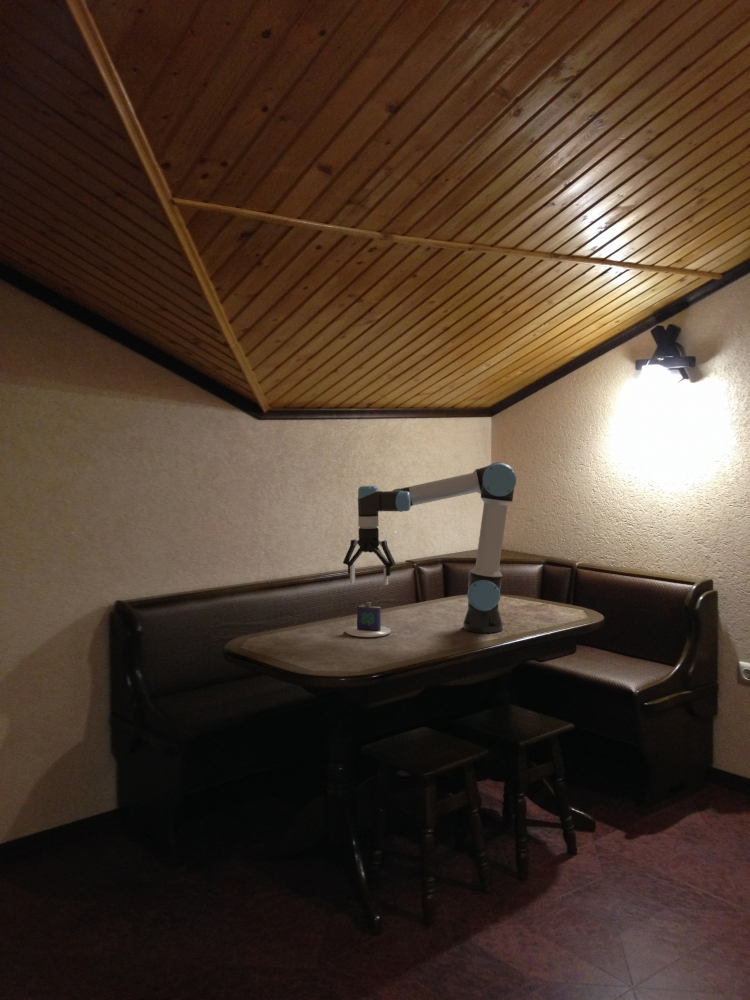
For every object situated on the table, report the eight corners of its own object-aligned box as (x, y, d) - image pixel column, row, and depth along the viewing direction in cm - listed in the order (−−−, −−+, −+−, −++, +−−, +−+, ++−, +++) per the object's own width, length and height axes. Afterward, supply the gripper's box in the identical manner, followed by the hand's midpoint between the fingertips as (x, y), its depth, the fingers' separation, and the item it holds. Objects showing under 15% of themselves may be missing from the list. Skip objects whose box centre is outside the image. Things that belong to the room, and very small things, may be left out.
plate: (397, 630, 315) (397, 627, 315) (380, 640, 299) (380, 637, 299) (356, 626, 322) (356, 623, 321) (338, 636, 306) (338, 632, 306)
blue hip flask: (381, 630, 311) (381, 601, 310) (379, 631, 308) (379, 603, 307) (358, 628, 313) (358, 600, 312) (355, 630, 310) (355, 602, 309)
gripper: (403, 527, 307) (403, 583, 308) (342, 525, 316) (343, 580, 317) (396, 529, 300) (396, 587, 301) (333, 527, 309) (334, 583, 310)
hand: (369, 583), depth 309 cm, fingers open, 13 cm apart
